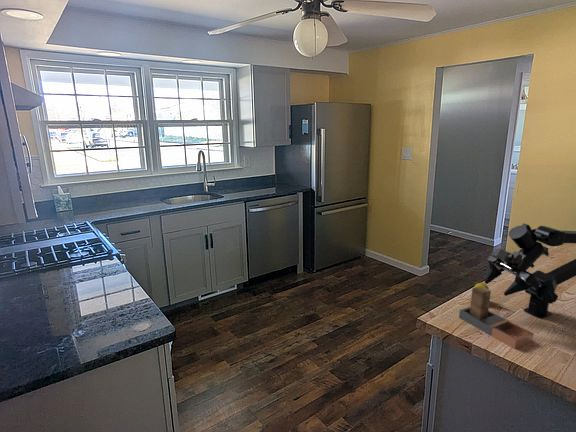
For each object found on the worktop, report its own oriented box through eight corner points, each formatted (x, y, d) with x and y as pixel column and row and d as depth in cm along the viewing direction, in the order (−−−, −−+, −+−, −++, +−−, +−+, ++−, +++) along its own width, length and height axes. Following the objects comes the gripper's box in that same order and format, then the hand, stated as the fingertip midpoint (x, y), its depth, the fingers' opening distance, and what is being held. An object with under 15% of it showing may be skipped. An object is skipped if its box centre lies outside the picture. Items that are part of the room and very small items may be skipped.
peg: (476, 316, 130) (480, 285, 127) (486, 321, 126) (490, 290, 123) (468, 319, 128) (472, 288, 125) (478, 324, 125) (482, 293, 122)
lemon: (474, 296, 144) (476, 278, 142) (489, 300, 141) (491, 281, 139) (470, 302, 140) (472, 283, 138) (486, 306, 136) (488, 287, 134)
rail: (475, 311, 133) (476, 304, 132) (532, 341, 115) (533, 332, 114) (459, 317, 129) (459, 309, 129) (514, 348, 111) (516, 339, 110)
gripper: (494, 233, 131) (464, 264, 132) (538, 251, 113) (502, 287, 114) (510, 252, 134) (480, 282, 135) (555, 272, 116) (520, 306, 117)
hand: (494, 288), depth 125 cm, fingers open, 9 cm apart
